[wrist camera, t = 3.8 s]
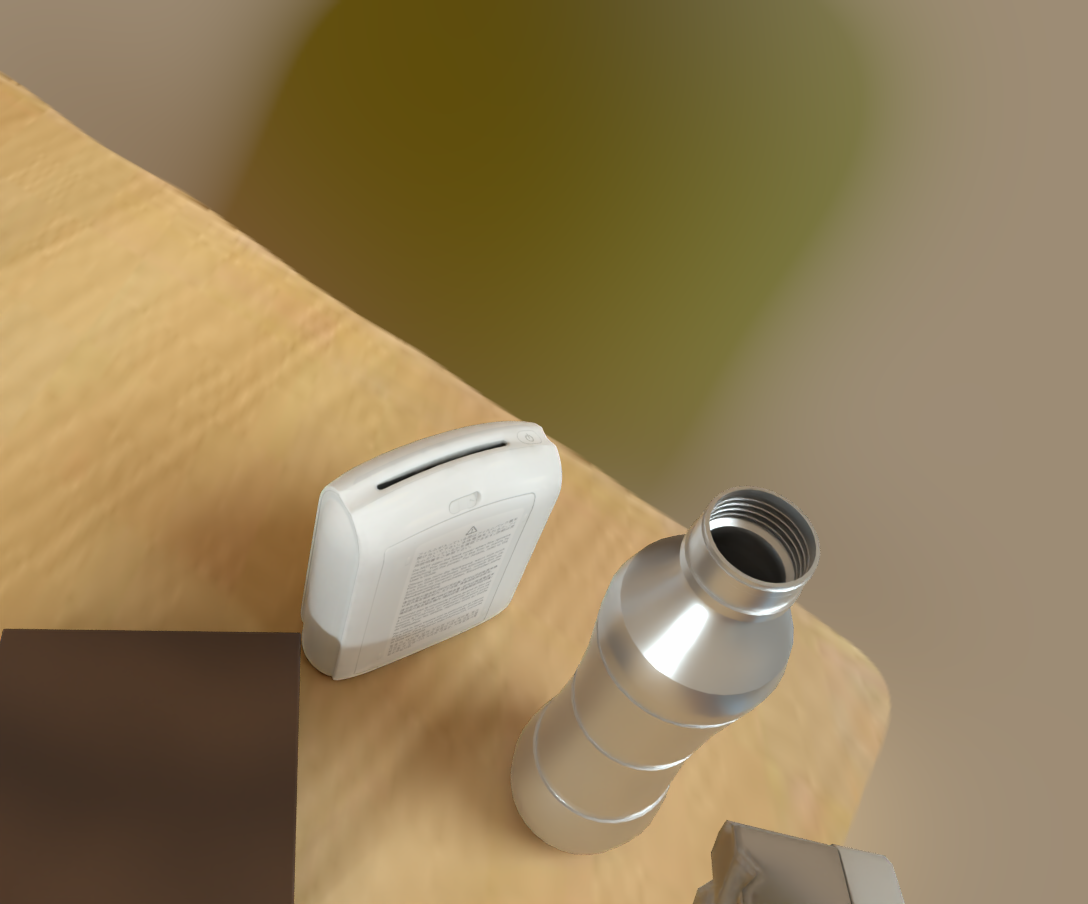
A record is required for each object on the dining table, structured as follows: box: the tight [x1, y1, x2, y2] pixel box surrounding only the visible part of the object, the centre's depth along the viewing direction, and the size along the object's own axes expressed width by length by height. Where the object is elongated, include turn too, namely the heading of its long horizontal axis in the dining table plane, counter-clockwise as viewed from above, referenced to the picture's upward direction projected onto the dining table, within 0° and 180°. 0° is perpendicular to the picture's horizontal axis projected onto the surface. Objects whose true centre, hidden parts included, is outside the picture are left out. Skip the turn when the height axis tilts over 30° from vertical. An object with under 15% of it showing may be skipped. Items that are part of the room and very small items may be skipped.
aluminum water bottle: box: [510, 486, 820, 855], centre depth 37 cm, size 6×7×20 cm
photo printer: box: [301, 421, 562, 680], centre depth 43 cm, size 10×4×12 cm, turn 123°
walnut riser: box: [0, 629, 301, 904], centre depth 38 cm, size 11×11×4 cm
